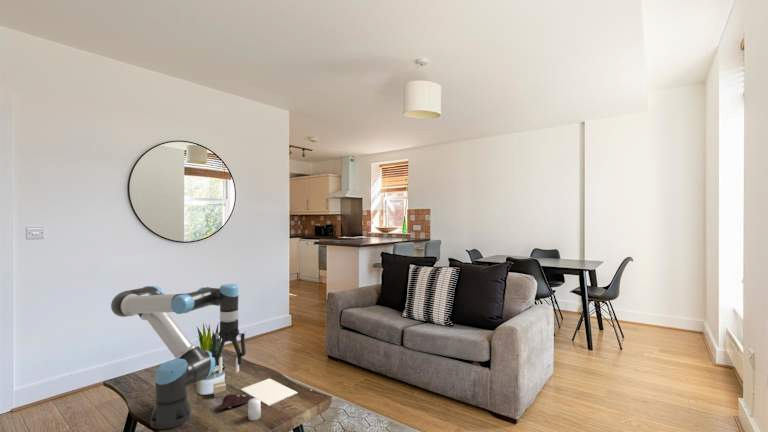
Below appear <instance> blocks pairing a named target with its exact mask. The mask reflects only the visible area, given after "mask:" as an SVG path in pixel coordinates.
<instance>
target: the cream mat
mask: <svg viewBox="0 0 768 432" xmlns="http://www.w3.org/2000/svg"><path fill="white" fill-rule="evenodd" d="M240 391H241V392H243V393H244V394H247V395H250V396H251V398H252V399H253V398H260V399H261V404H264V405H266V406H267V407H270V406H272V405H275V404H277V403H279V402H281V401H283V400H285V398H286V399H288V398H290V397H292V396H294V395H296V394H298V391H296V390H294V389H292V388H290V387H288V386H285V385H284V384H282V383H281V382H278V381H276V380H274V379H271V378H267V379H265V380H262V381H259V382H256V383H253V384H251V385H248V386H245V387H243V388H240ZM287 397H288V398H287Z"/></svg>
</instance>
